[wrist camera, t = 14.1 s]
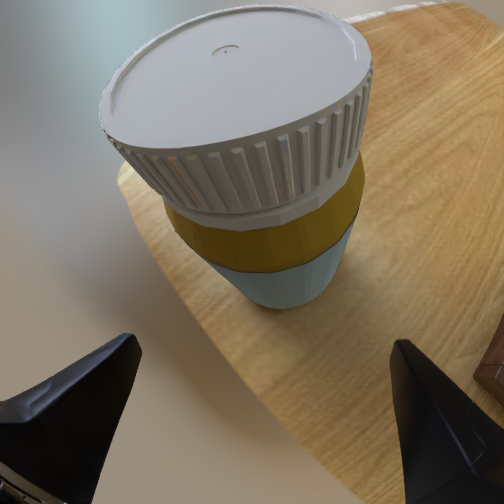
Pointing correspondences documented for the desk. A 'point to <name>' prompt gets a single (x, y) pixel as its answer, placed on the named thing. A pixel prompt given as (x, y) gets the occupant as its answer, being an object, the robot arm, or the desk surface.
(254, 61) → the bottle
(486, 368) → the tray
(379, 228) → the desk surface
